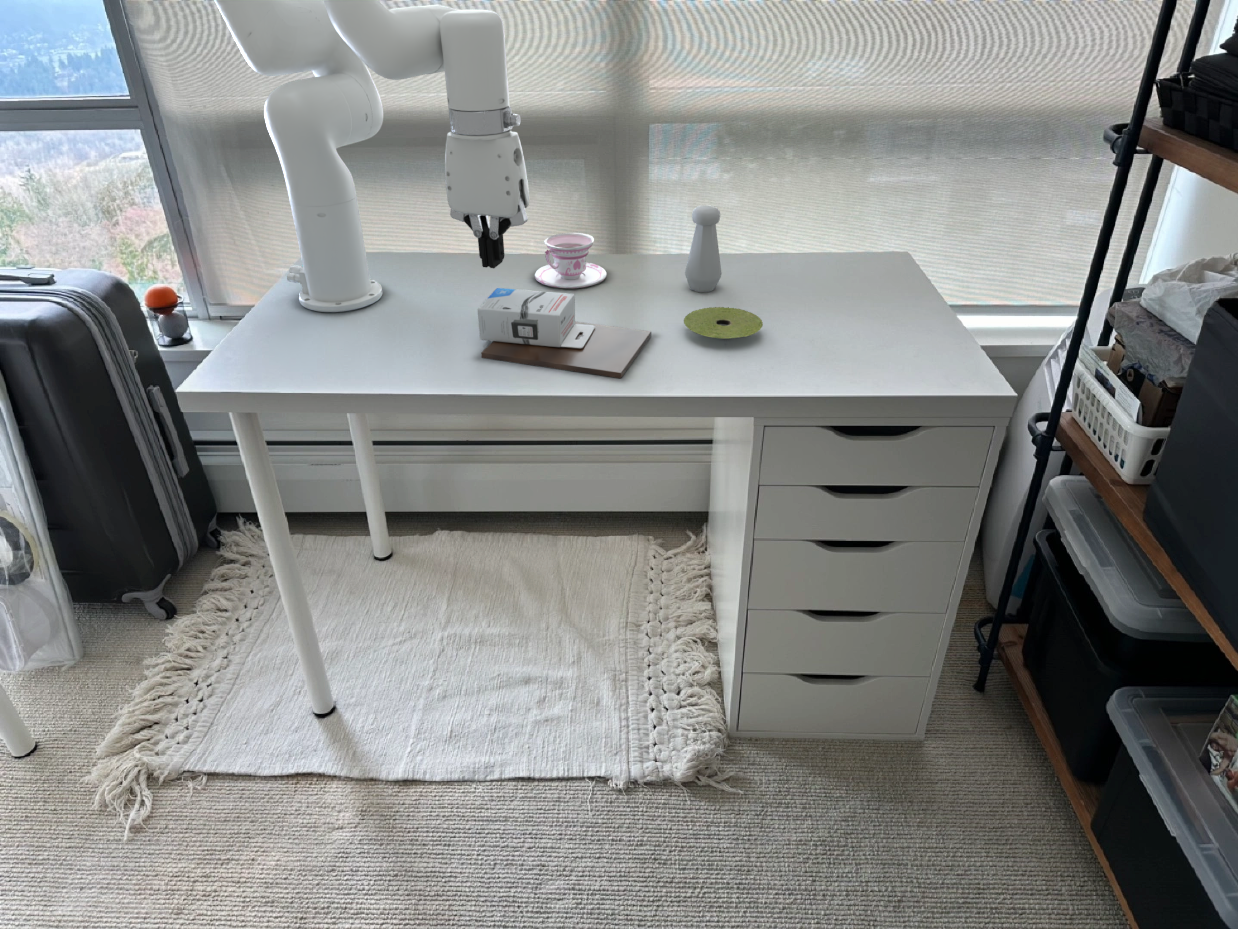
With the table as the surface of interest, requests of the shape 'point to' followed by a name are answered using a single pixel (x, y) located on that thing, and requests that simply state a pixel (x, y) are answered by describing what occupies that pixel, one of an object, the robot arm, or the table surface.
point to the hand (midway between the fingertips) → (492, 264)
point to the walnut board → (579, 352)
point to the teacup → (569, 262)
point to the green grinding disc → (723, 322)
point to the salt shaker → (704, 250)
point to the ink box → (531, 319)
